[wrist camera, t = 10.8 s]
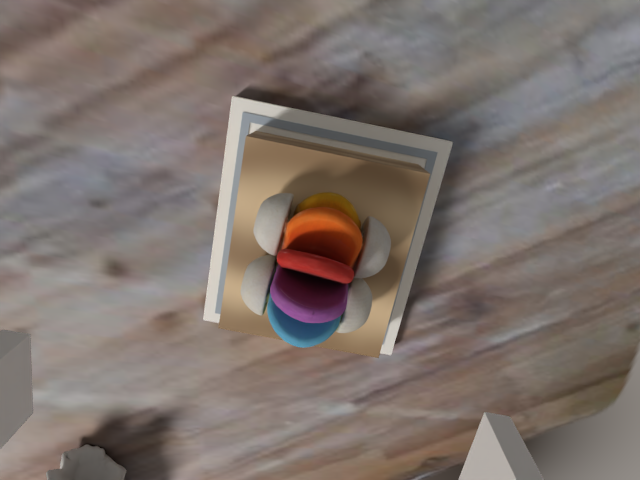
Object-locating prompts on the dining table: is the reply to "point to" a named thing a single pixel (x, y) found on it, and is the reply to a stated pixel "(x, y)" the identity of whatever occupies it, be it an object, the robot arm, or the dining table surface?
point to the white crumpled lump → (87, 466)
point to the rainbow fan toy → (314, 267)
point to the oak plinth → (304, 181)
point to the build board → (336, 134)
